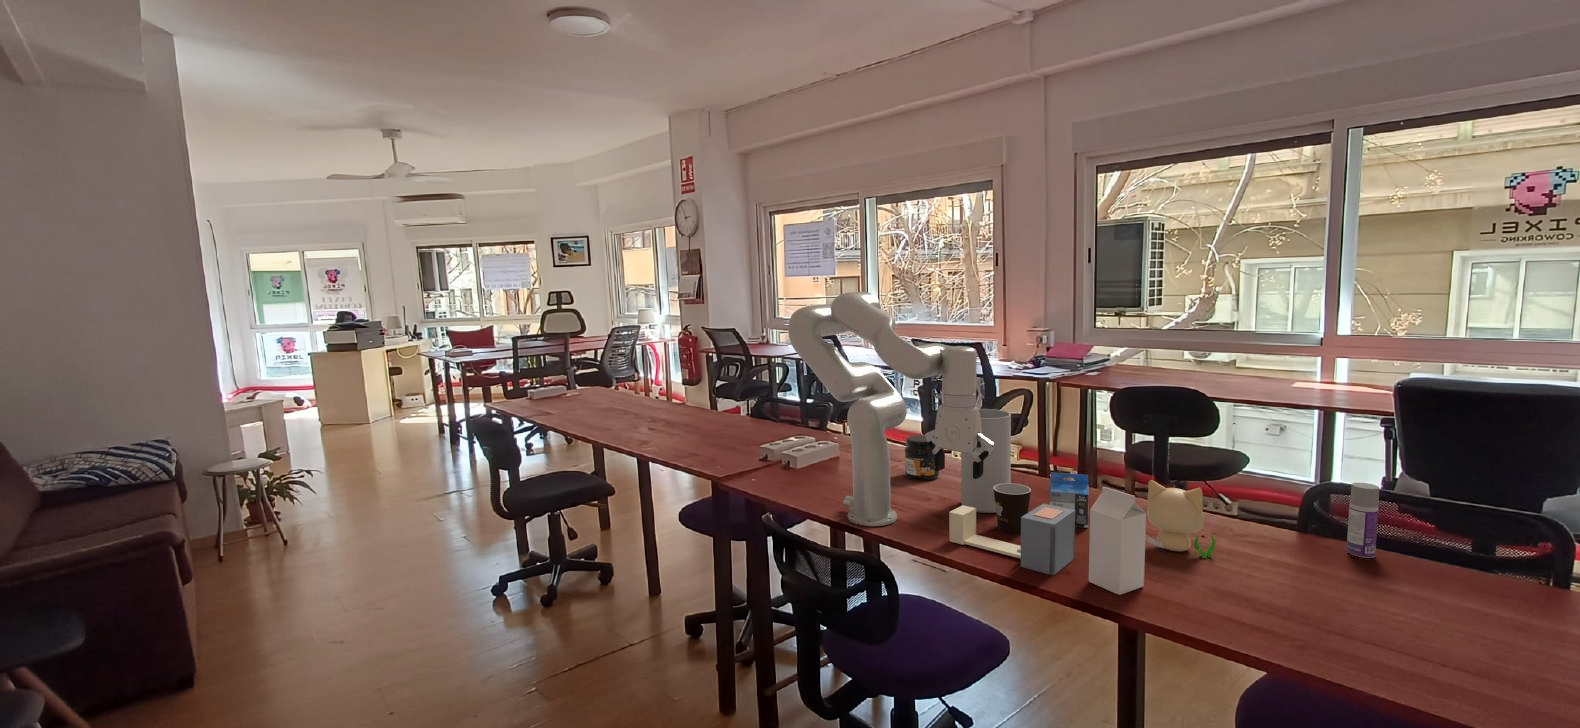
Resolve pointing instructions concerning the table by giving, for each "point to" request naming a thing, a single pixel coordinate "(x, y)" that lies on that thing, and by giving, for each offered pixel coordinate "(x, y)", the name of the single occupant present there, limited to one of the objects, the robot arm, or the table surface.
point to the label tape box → (1071, 495)
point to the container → (1363, 520)
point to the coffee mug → (1011, 506)
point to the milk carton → (1117, 542)
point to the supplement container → (919, 459)
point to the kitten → (1176, 517)
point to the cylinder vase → (988, 463)
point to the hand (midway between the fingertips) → (958, 473)
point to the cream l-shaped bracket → (965, 533)
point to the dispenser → (1047, 539)
